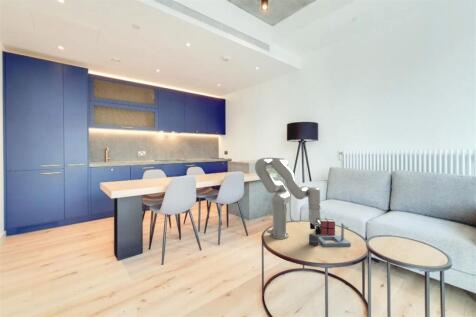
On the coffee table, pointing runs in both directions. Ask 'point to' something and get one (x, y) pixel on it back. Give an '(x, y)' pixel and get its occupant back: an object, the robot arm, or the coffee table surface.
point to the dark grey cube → (313, 239)
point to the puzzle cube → (327, 226)
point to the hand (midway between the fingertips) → (315, 231)
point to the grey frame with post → (339, 239)
